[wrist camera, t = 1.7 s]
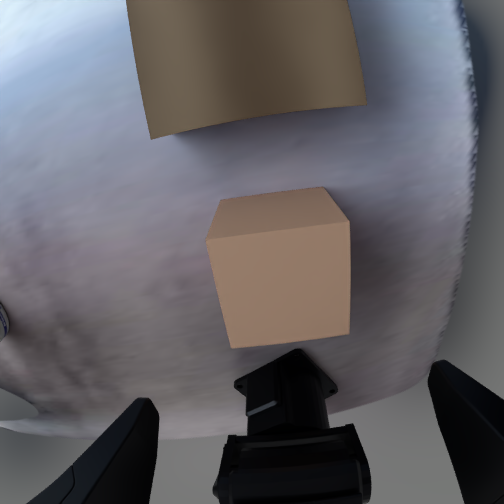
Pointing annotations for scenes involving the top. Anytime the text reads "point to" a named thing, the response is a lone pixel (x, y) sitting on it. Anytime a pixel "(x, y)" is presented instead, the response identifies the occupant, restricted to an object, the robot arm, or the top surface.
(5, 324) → the energy drink
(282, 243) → the terracotta cube
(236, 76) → the walnut block
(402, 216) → the top surface
